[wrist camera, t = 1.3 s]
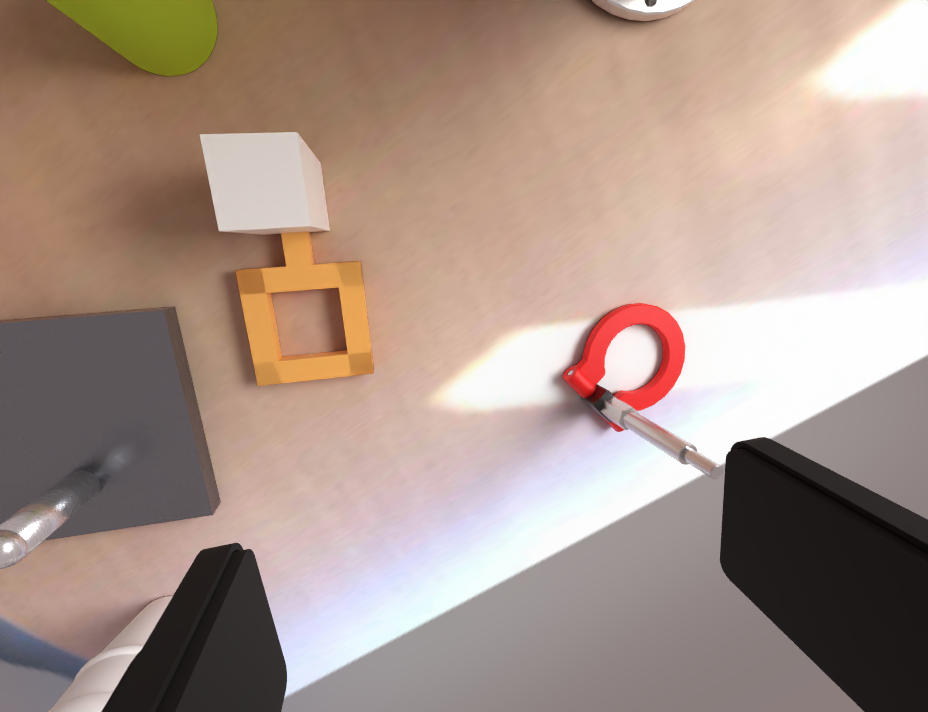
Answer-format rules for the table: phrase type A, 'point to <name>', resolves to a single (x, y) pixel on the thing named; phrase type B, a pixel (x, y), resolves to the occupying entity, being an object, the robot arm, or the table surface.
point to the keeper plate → (97, 428)
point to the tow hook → (627, 403)
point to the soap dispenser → (150, 30)
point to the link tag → (293, 216)
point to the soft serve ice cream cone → (110, 663)
